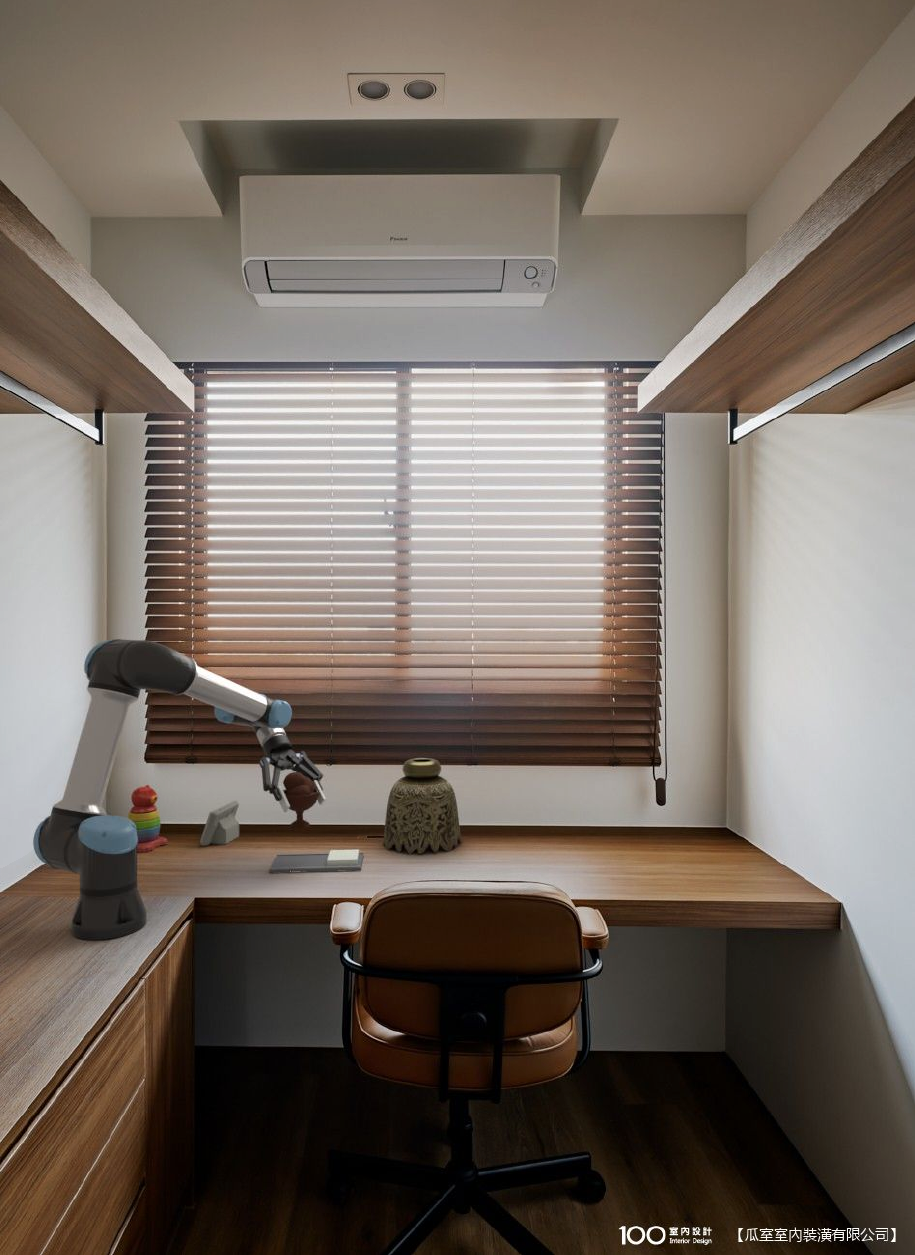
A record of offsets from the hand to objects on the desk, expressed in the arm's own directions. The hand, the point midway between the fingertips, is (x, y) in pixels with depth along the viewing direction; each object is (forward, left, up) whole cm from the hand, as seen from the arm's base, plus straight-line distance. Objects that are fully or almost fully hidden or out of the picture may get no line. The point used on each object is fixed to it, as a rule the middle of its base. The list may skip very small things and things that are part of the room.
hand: (305, 805), depth 218 cm
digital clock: (-29, +29, -17) cm, 44 cm away
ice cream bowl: (-2, +2, -6) cm, 7 cm away
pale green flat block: (+10, +2, -17) cm, 20 cm away
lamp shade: (+32, +20, -17) cm, 41 cm away
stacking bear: (-50, +23, -17) cm, 58 cm away
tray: (+3, +2, -17) cm, 17 cm away
